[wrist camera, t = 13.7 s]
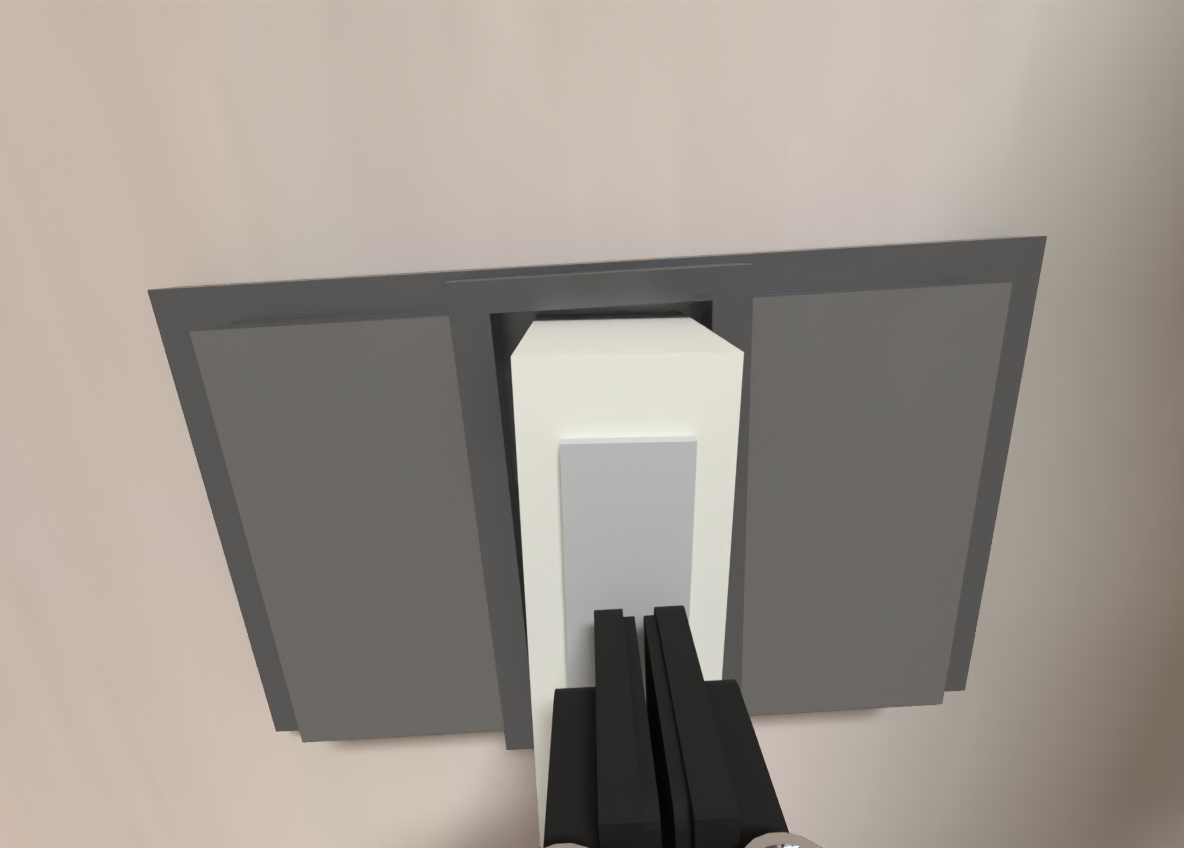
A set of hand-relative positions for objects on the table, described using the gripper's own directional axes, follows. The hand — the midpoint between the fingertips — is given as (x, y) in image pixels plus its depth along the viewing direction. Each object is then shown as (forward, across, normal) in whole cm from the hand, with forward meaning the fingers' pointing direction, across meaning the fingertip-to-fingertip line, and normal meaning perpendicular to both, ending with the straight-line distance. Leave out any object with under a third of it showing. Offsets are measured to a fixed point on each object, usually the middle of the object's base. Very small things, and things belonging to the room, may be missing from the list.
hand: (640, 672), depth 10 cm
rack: (+8, 0, 0) cm, 8 cm away
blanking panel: (+7, 0, 0) cm, 7 cm away
